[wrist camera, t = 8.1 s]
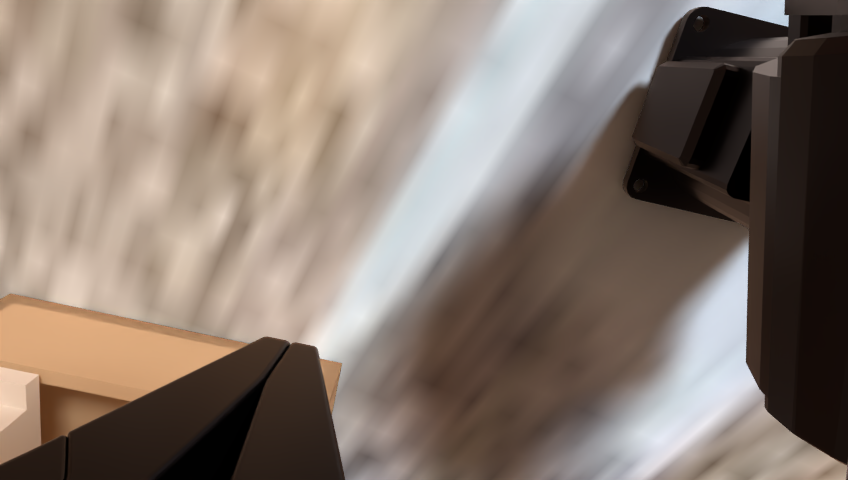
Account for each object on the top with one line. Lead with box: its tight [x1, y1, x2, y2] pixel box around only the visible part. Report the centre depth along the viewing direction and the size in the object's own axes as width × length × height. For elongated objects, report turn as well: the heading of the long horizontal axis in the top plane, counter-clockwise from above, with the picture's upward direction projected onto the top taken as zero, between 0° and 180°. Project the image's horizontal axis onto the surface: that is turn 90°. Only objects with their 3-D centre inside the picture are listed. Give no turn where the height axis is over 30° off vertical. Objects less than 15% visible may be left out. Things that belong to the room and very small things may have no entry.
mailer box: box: [0, 294, 342, 445], centre depth 22 cm, size 14×10×4 cm
